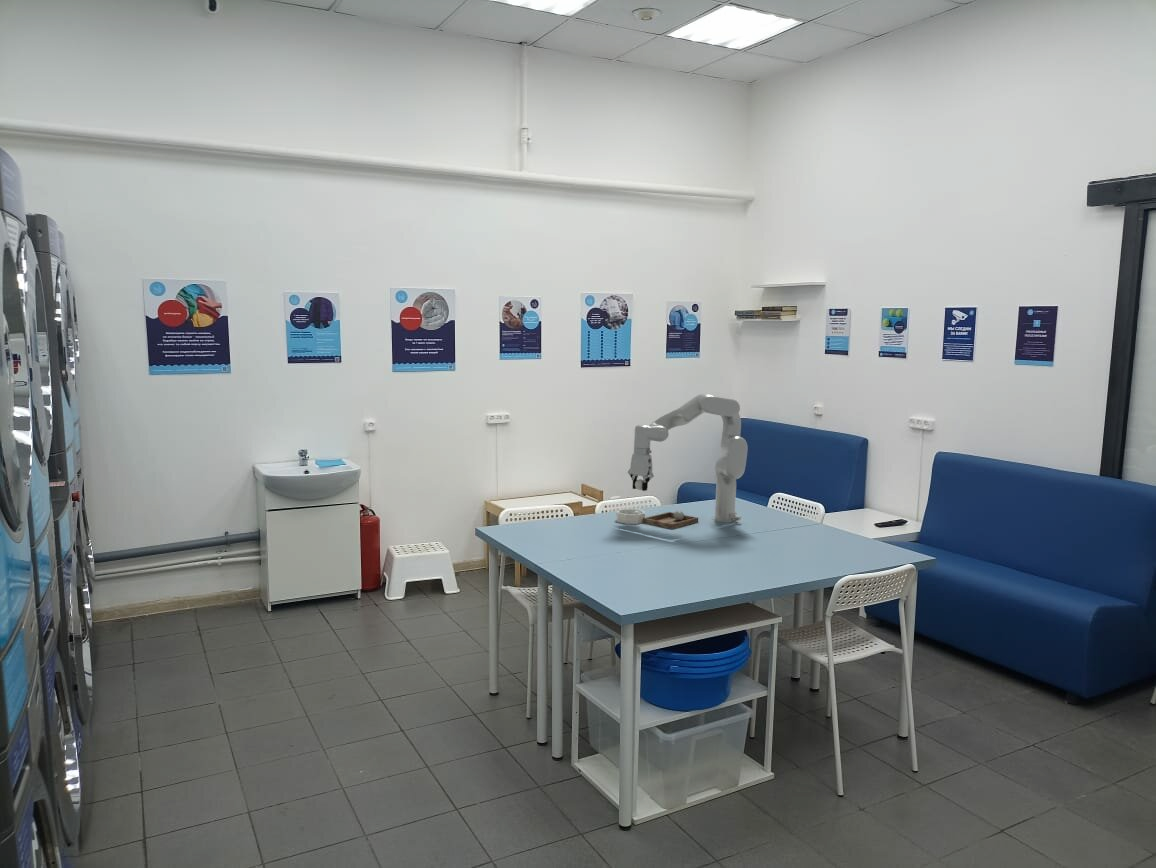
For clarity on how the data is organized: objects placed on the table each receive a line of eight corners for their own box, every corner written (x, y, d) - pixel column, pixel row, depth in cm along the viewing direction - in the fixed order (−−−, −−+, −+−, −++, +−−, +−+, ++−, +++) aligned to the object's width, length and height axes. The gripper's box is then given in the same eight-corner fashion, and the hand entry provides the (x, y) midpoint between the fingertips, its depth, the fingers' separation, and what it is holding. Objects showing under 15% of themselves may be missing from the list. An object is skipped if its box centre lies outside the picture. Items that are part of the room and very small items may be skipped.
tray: (698, 523, 386) (698, 517, 385) (672, 530, 370) (672, 524, 370) (669, 517, 397) (669, 511, 397) (642, 524, 382) (642, 518, 381)
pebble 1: (647, 490, 382) (647, 479, 382) (640, 491, 379) (641, 480, 378) (638, 488, 386) (639, 478, 385) (632, 489, 382) (632, 479, 381)
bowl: (649, 522, 386) (649, 512, 386) (632, 526, 377) (632, 516, 376) (628, 517, 395) (628, 507, 394) (611, 521, 386) (611, 511, 385)
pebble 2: (685, 520, 388) (686, 510, 388) (679, 522, 385) (680, 511, 384) (677, 518, 392) (677, 508, 391) (671, 520, 388) (671, 510, 388)
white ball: (639, 521, 388) (645, 516, 385) (632, 524, 384) (639, 519, 381) (634, 512, 389) (640, 507, 386) (627, 515, 386) (633, 510, 383)
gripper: (661, 453, 377) (659, 491, 379) (632, 448, 388) (630, 486, 391) (651, 454, 372) (649, 493, 374) (622, 449, 383) (620, 487, 385)
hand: (639, 489), depth 382 cm, fingers closed on pebble 1, 4 cm apart
